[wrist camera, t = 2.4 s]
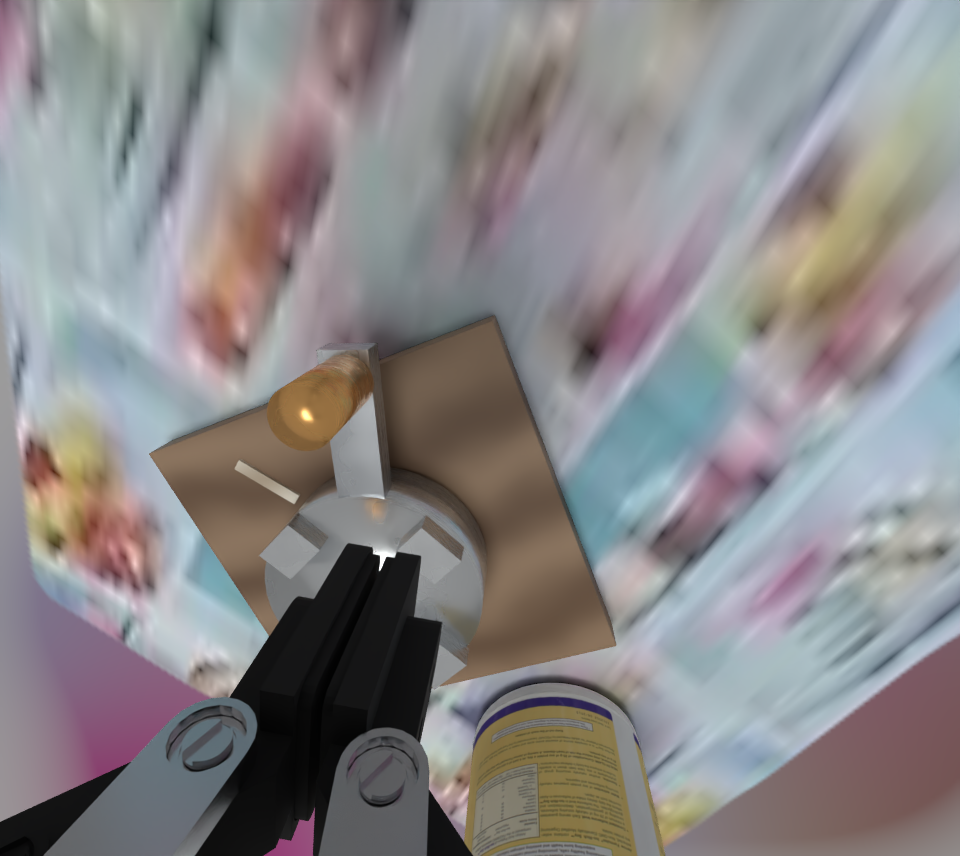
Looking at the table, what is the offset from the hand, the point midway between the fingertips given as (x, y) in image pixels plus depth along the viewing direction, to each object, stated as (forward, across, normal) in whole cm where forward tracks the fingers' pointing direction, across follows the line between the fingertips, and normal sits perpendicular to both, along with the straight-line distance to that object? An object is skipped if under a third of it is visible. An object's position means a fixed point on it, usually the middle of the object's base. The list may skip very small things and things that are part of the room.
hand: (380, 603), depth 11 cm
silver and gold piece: (+16, +4, +7) cm, 18 cm away
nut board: (+19, +3, +11) cm, 22 cm away
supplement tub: (+19, -10, +26) cm, 34 cm away
